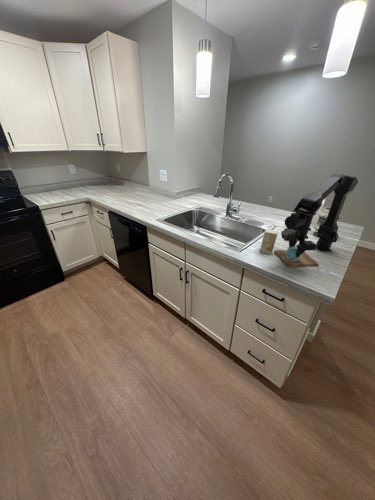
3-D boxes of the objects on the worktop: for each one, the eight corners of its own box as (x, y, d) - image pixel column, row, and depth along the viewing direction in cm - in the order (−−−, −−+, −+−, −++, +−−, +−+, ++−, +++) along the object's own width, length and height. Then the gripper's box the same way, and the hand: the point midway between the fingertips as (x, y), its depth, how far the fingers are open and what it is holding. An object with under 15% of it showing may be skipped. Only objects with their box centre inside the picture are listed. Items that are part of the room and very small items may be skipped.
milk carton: (306, 220, 153) (314, 195, 143) (317, 222, 149) (326, 197, 140) (305, 223, 147) (313, 197, 138) (316, 225, 144) (325, 199, 135)
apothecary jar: (322, 231, 135) (332, 205, 126) (337, 239, 125) (349, 211, 116) (306, 232, 133) (315, 206, 124) (320, 240, 123) (330, 212, 114)
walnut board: (301, 251, 110) (302, 249, 109) (318, 265, 98) (318, 263, 97) (273, 252, 109) (274, 250, 108) (286, 266, 97) (287, 264, 96)
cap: (295, 252, 102) (297, 245, 100) (301, 258, 97) (304, 250, 95) (284, 252, 102) (286, 245, 100) (290, 258, 97) (292, 251, 95)
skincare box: (259, 252, 108) (264, 231, 102) (260, 248, 112) (264, 228, 106) (272, 254, 107) (277, 233, 101) (272, 250, 110) (277, 230, 104)
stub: (294, 256, 103) (295, 251, 102) (299, 261, 99) (301, 256, 97) (284, 256, 103) (285, 251, 101) (289, 261, 98) (291, 256, 97)
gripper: (276, 217, 99) (269, 245, 107) (297, 233, 83) (287, 264, 91) (298, 217, 100) (289, 244, 107) (322, 233, 84) (310, 264, 91)
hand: (293, 253), depth 99 cm, fingers closed on cap, 6 cm apart
